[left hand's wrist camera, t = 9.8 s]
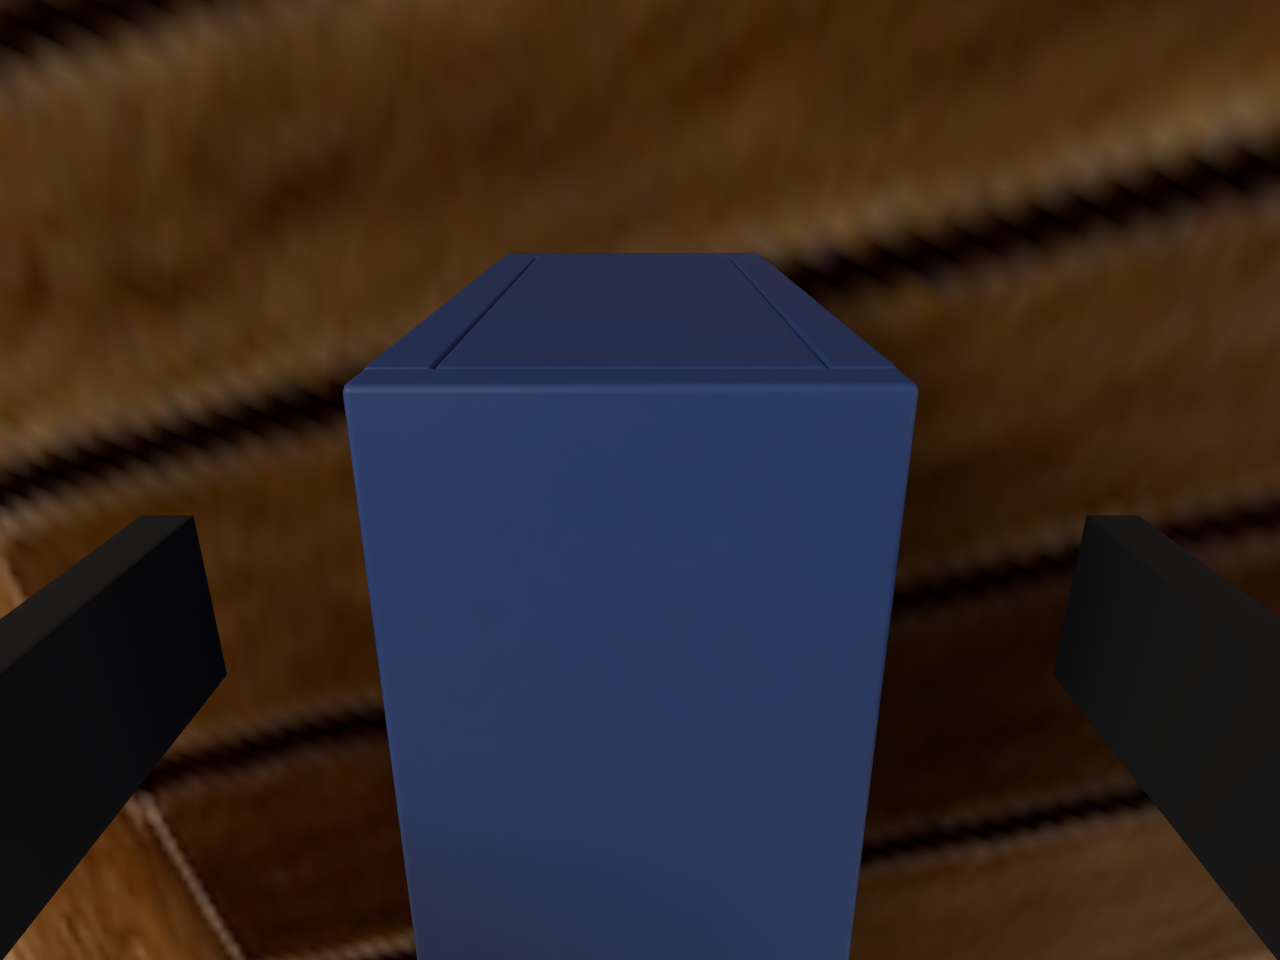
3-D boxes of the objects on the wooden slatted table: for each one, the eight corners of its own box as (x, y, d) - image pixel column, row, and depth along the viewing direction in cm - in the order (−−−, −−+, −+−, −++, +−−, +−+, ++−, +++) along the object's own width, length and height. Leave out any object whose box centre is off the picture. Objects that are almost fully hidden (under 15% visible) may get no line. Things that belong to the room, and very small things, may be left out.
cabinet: (726, 920, 25) (789, 1453, 15) (544, 921, 25) (480, 1455, 15) (759, 252, 18) (921, 383, 8) (507, 253, 18) (338, 384, 8)
